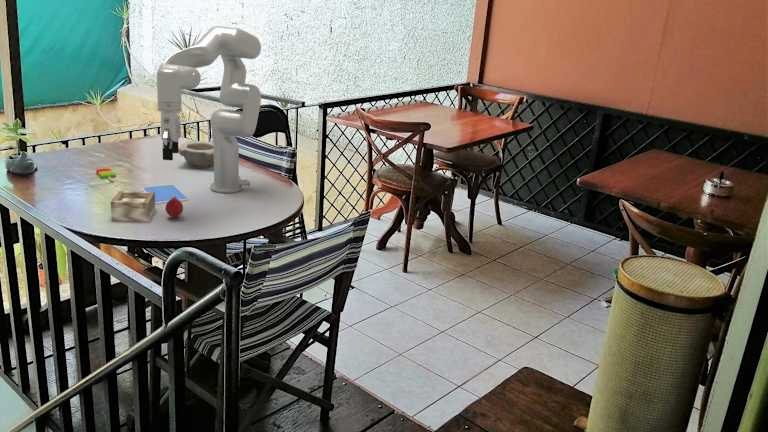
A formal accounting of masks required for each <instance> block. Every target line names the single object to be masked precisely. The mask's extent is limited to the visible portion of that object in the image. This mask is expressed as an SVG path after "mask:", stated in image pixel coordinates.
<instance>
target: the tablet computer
mask: <svg viewBox="0 0 768 432" xmlns="http://www.w3.org/2000/svg"><path fill="white" fill-rule="evenodd" d="M141 190H142V192H155V205H163V204H164V205H165V204H167V203H168V201H169V200H171V199H172V198H173V196H176V199H178V200H179V201H180V202H181V203H182V202H187V201H189V198H188V197H187V196H186V195H185V194H184V193H183V192H182V191H181V190H180V189H179V188H178V187H177V186H175V185H174V184H168V185H167V184H166V185H158V186H146V187H142V188H141Z"/></svg>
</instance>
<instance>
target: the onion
mask: <svg viewBox="0 0 768 432" xmlns="http://www.w3.org/2000/svg"><path fill="white" fill-rule="evenodd" d="M165 204H166V205H165V211H166V213H167V215H168V216H169V217H171V218H172V219H177V218H178V217H179V216H180V215H182V213H183V212H184V205H183V203H182V202H180V201H179V200H178V199H176V196H173V198H172V199H171V200H169V201H168V203H165Z"/></svg>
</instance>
